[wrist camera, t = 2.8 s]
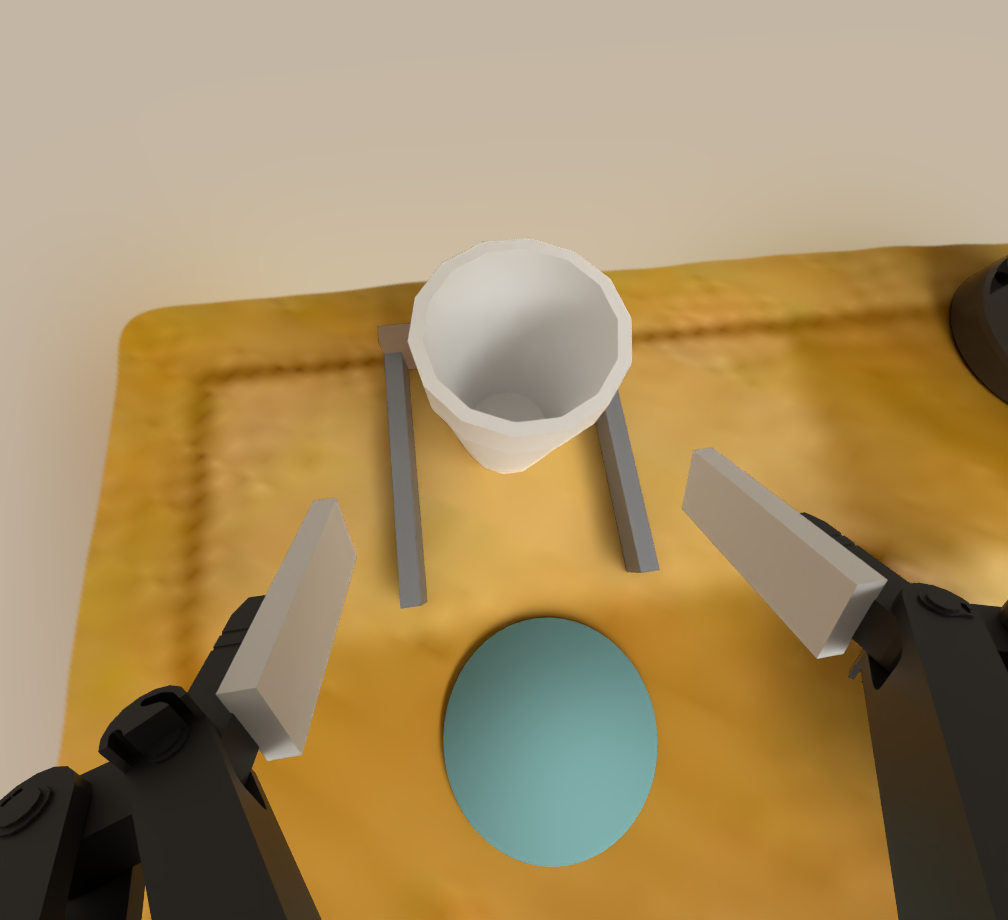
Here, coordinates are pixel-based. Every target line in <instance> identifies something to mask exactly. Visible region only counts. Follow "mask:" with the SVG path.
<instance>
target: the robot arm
mask: <svg viewBox="0 0 1008 920" xmlns="http://www.w3.org/2000/svg"><path fill="white" fill-rule="evenodd" d="M951 326H952V331H953V335H954V338H955V341H956V344H957V346H958V348H959V350H960V352H961V354H962V356H963V358H964V359H965V361H966V363H967V364H968V365H969V367H970V368H971V370H972V371H973V372H974V373H975V375H976V376H977V377H978V378H979V379H980V380H981V381H982V382H983V383H984V384H985V385H986V386H987V387H988V388H989V389H990V390H991V391H992V392H994V393H995V394H996V395H997V396H998V397H1000V398H1001V399H1002V400H1004V401H1005V402H1007V403H1008V256H1006V257H1004V258H1002V259H1000V260H998V261H996V262H995V263H993V264H991V265H990V266H988V267H986V268H984V269H983V270H981V271H979V272H978V273H976V274H974V275H973V276H971V277H970V278H968V279H967V280H966V281H965V282H964V283H963V284H962V285H961V286H960V287H959V289H958V290H957V292H956V294H955V296H954V299H953V302H952V306H951ZM682 510H683V511H684V512H685V513H686V514H687V515H688V516H689V517H690V519H691V520H692V521H693V522H694V523H695V524H696V525H697V526H698V527H699V529H700V530H701V531H702V532H703V533H704V534H705V535H706V536H707V537H708V539H709V540H710V541H711V542H712V543H713V544H714V545H715V546H716V547H717V549H718V550H719V551H720V552H721V553H722V554H723V555H724V556H725V557H726V559H727V560H728V561H729V562H730V563H731V564H732V565H733V566H734V567H735V569H736V570H737V571H738V572H739V573H740V574H741V575H742V576H743V577H744V579H745V580H746V581H747V582H748V583H749V584H750V585H751V586H752V587H753V589H754V590H755V591H756V592H757V593H758V594H759V595H760V596H761V597H762V599H763V600H764V601H765V602H766V603H767V604H768V605H769V606H770V607H771V609H772V610H773V611H774V612H775V613H776V614H777V615H778V616H779V617H780V619H781V620H782V621H783V622H784V623H785V624H786V625H787V626H788V627H789V629H790V630H791V631H792V632H793V633H794V634H795V635H796V636H797V637H798V639H799V640H800V641H801V642H802V643H803V644H804V645H805V646H806V647H807V649H808V650H809V651H810V652H811V653H812V654H813V655H814V656H815V657H816V659H818V658H824V657H829V656H834V655H840V654H844V652H845V650H846V649H847V647H848V645H849V644H850V642H851V640H852V639H854V640H855V641H856V642H857V643H858V644H859V645H860V646H861V647H862V648H863V650H862V652H861V654H860V655H859V657H858V658H857V660H856V661H855V663H854V665H853V666H852V668H851V669H850V671H849V676H848V677H849V678H851V679H854V678H855V677H856V675H857V674H858V672H859V671H861V673H862V683H863V686H864V693H865V700H866V706H867V713H868V719H869V726H870V733H871V739H872V746H873V753H874V759H875V766H876V772H877V779H878V786H879V792H880V799H881V805H882V812H883V819H884V825H885V832H886V839H887V845H888V852H889V858H890V865H891V872H892V878H893V885H894V892H895V898H896V905H897V911H898V918H899V920H1008V600H1007V602H1006V603H1005V604H1004V605H1003V606H1002V607H996V606H986V605H977V604H969V603H968V602H967V601H965V600H964V599H963V598H961V597H959V596H957V595H955V594H953V593H951V592H949V591H947V590H945V589H942V588H939V587H936V586H933V585H928V584H923V583H909V582H907V581H906V580H904V579H903V578H902V577H900V576H899V575H898V574H896V573H895V572H893V571H892V570H891V569H889V568H888V567H887V566H885V565H884V564H883V563H881V562H880V561H878V560H877V559H876V558H874V557H873V556H872V555H870V554H869V553H867V552H866V551H865V550H863V549H862V548H861V547H859V546H855V544H854V542H852V541H851V540H850V539H848V538H847V537H845V536H842V535H841V533H840V532H839V531H837V530H836V529H834V528H833V527H832V526H830V525H829V524H828V523H826V522H825V521H822V520H820V519H818V518H816V517H814V516H812V515H809V514H807V513H805V512H804V513H798V512H797V511H796V510H795V509H793V508H792V507H791V506H789V505H788V504H787V503H785V502H784V501H783V500H781V499H780V498H779V497H777V496H776V495H775V494H773V493H772V492H771V491H769V490H768V489H767V488H765V487H764V486H763V485H761V484H760V483H759V482H757V481H756V480H755V479H754V478H752V477H751V476H750V475H748V474H747V473H746V472H744V471H743V470H742V469H740V468H739V467H738V466H736V465H735V464H734V463H732V462H731V461H730V460H728V459H727V458H726V457H724V456H723V455H722V454H720V453H719V452H718V451H716V450H715V449H714V448H705V449H698V450H693V455H692V460H691V465H690V470H689V475H688V480H687V485H686V490H685V495H684V500H683V505H682ZM356 558H357V555H356V552H355V549H354V546H353V543H352V540H351V538H350V535H349V532H348V529H347V526H346V523H345V521H344V518H343V515H342V512H341V509H340V506H339V503H338V501H337V498H330V499H322V500H315V501H313V503H312V505H311V507H310V509H309V511H308V513H307V515H306V517H305V519H304V521H303V523H302V525H301V527H300V529H299V531H298V533H297V535H296V537H295V539H294V541H293V543H292V545H291V547H290V549H289V551H288V553H287V555H286V557H285V559H284V561H283V562H282V564H281V566H280V568H279V570H278V572H277V574H276V576H275V578H274V580H273V582H272V584H271V586H270V588H269V590H268V592H267V594H266V595H263V596H256V597H250V598H248V599H247V600H246V601H245V602H244V603H243V604H242V605H241V606H240V607H239V608H238V609H237V610H236V611H235V612H234V613H233V614H232V615H231V617H230V619H229V621H228V622H227V624H226V626H225V628H224V629H223V631H222V635H221V636H219V638H218V640H217V642H216V643H215V645H214V650H213V651H211V652H210V654H209V656H208V657H207V659H206V661H205V663H204V664H203V666H202V668H201V670H200V671H199V673H198V675H197V677H196V678H195V680H194V682H193V684H192V685H191V687H190V689H189V691H188V692H186V691H185V690H184V689H183V688H182V687H180V686H171V685H169V686H166V687H162V688H158V689H155V690H153V691H151V692H149V693H147V694H145V695H143V696H141V697H139V698H138V699H137V700H135V701H134V702H133V703H131V704H130V705H129V706H127V707H126V708H125V709H123V710H122V711H121V712H120V714H119V715H118V716H117V717H116V718H115V719H114V720H113V721H112V722H111V723H110V724H109V726H108V728H107V729H106V731H105V733H104V734H103V736H102V738H101V740H100V745H99V751H98V752H99V753H100V754H101V755H102V756H104V757H105V758H106V759H107V760H108V761H110V762H108V763H106V764H103V765H101V766H99V767H97V768H95V769H92V770H90V771H88V772H86V773H84V774H82V775H79V774H77V773H76V772H75V771H73V770H72V769H70V768H69V767H68V766H61V767H53V768H50V769H48V770H45V771H42V772H40V773H37V774H36V775H34V776H32V777H31V778H29V779H28V780H26V781H24V782H23V783H21V784H20V785H18V786H16V787H15V788H14V789H13V790H12V791H11V792H9V793H8V794H7V795H6V796H5V797H3V799H1V800H0V920H141V919H142V910H143V900H144V891H145V886H146V891H147V897H148V902H149V907H150V913H151V918H152V920H321V917H320V915H319V913H318V911H317V909H316V906H315V904H314V902H313V900H312V897H311V895H310V893H309V891H308V889H307V886H306V884H305V882H304V880H303V877H302V875H301V873H300V871H299V869H298V866H297V864H296V862H295V860H294V857H293V855H292V853H291V851H290V849H289V846H288V844H287V842H286V840H285V837H284V835H283V833H282V831H281V829H280V826H279V824H278V822H277V820H276V817H275V815H274V813H273V811H272V809H271V806H270V804H269V802H268V800H267V797H266V795H265V793H264V791H263V789H262V786H261V784H260V782H259V780H258V777H257V775H256V773H255V772H254V771H253V770H252V766H253V763H254V760H255V758H256V755H257V752H258V750H260V751H261V753H262V754H263V755H264V756H265V758H266V759H267V760H268V761H270V760H276V759H281V758H287V757H292V756H297V755H302V753H303V749H304V746H305V742H306V739H307V735H308V731H309V728H310V724H311V721H312V717H313V713H314V710H315V706H316V703H317V699H318V695H319V692H320V688H321V684H322V681H323V677H324V674H325V670H326V666H327V663H328V659H329V656H330V652H331V648H332V645H333V641H334V638H335V634H336V630H337V627H338V623H339V620H340V616H341V612H342V609H343V605H344V601H345V598H346V594H347V591H348V587H349V583H350V580H351V576H352V573H353V569H354V565H355V562H356Z"/></svg>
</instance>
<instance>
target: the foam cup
mask: <svg viewBox="0 0 1008 920" xmlns="http://www.w3.org/2000/svg"><path fill="white" fill-rule="evenodd" d="M408 344H409V347H410V350H411V353H412V355H413V358H414V361H415V364H416V367H417V369H418V372H419V375H420V378H421V381H422V383H423V386H424V389H425V392H426V394H427V397H428V400H429V403H430V405H431V408H432V410H433V411H434V412H436V413H437V414H438V415H439V416H440V417H441V418H442V419H443V420H444V421H445V422H446V423H447V424H448V425H449V426H450V428H451V429H452V430H453V432H454V433H455V435H456V436H457V437H458V439H459V440H460V441H461V443H462V444H463V446H464V447H465V448H466V450H467V451H468V453H469V454H470V455H471V456H472V457H473V458H474V459H475V460H476V461H477V462H479V463H480V464H481V465H482V466H483V467H484V468H486V469H489V470H492V471H495V472H498V473H502V474H507V473H514V472H522V471H524V470H525V469H527V468H528V467H530V466H532V465H533V464H535V463H536V462H538V461H539V460H541V459H542V458H543V457H545V456H546V455H547V454H548V453H550V452H551V451H552V450H554V449H555V448H558V447H559V446H561V445H562V444H564V443H566V442H567V441H569V440H570V439H572V438H573V437H575V436H576V435H578V434H579V433H581V432H582V431H584V430H585V429H587V428H588V427H590V426H592V425H593V424H594V423H595V422H596V421H597V419H598V418H599V417H600V415H601V414H602V413H603V411H604V410H605V409H606V408H607V406H608V405H609V404H610V402H611V400H612V398H613V396H614V395H615V393H616V391H617V389H618V387H619V386H620V384H621V382H622V380H623V378H624V377H625V375H626V373H627V371H628V369H629V367H630V366H631V364H632V318H631V317H630V315H629V313H628V311H627V309H626V307H625V305H624V303H623V301H622V300H621V298H620V296H619V294H618V292H617V290H616V288H615V286H614V285H613V283H612V281H611V279H610V278H608V277H607V276H606V275H605V274H603V273H602V272H601V271H599V270H598V269H597V268H595V267H594V266H593V265H592V264H590V263H589V262H588V261H587V260H585V259H584V258H582V257H581V256H580V255H579V254H578V253H576V252H575V251H573V250H569V249H565V248H562V247H559V246H555V245H552V244H549V243H545V242H541V241H538V240H535V239H531V238H522V239H510V240H498V241H486V242H481V243H479V244H478V245H476V246H473V247H471V248H470V249H468V250H466V251H464V252H462V253H460V254H458V255H456V256H454V257H452V258H450V259H448V260H446V261H444V262H442V263H441V265H440V266H439V267H438V269H437V270H436V271H435V272H434V274H433V275H432V276H431V277H430V279H429V280H428V281H427V283H426V284H425V285H424V286H423V288H422V289H421V290H420V292H419V293H418V294H417V295H416V297H415V300H414V306H413V312H412V318H411V324H410V330H409V336H408Z"/></svg>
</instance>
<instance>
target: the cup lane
mask: <svg viewBox="0 0 1008 920" xmlns="http://www.w3.org/2000/svg"><path fill="white" fill-rule="evenodd" d="M410 324H411V323H406V324H395V325H384V326H377V327H378V342H379V344H380V346H381V348H382V350H383V352H384V359H385V374H386V390H387V405H388V421H389V436H390V451H391V467H392V482H393V498H394V513H395V529H396V544H397V560H398V575H399V591H400V606H401V609H402V608H409V607H415V606H421V605H423V604H424V603H426V602H427V592H426V579H425V567H424V555H423V543H422V530H421V518H420V506H419V494H418V481H417V469H416V457H415V445H414V432H413V420H412V408H411V396H410V383H409V371H408V369H416V368H417V367H416V364H415V361H414V358H413V355H412V353H411V350H410V347H409V344H408V336H409V330H410ZM596 427H597V432H598V437H599V441H600V446H601V451H602V456H603V460H604V465H605V470H606V475H607V479H608V484H609V489H610V494H611V498H612V503H613V508H614V513H615V517H616V522H617V527H618V532H619V536H620V541H621V546H622V551H623V555H624V560H625V565H626V569H627V572H635V573H644V572H650V571H657V570H660V569H659V565H658V561H657V556H656V552H655V548H654V543H653V539H652V535H651V530H650V526H649V522H648V517H647V513H646V509H645V505H644V500H643V496H642V492H641V487H640V483H639V479H638V474H637V470H636V466H635V461H634V457H633V453H632V448H631V444H630V440H629V435H628V431H627V427H626V423H625V418H624V414H623V410H622V405H621V401H620V397H619V392H618V389H617V391H616V393H615V395H614V396H613V398H612V400H611V402H610V404H609V405H608V406H607V408H606V409H605V410H604V411H603V413H602V414H601V415H600V417H599V418H598V419H597V421H596Z"/></svg>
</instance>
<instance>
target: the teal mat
mask: <svg viewBox="0 0 1008 920" xmlns="http://www.w3.org/2000/svg"><path fill="white" fill-rule="evenodd" d="M443 743H444V758H445V765H446V771H447V774H448V778H449V782H450V786H451V788H452V791H453V793H454V796H455V798H456V801H457V802H458V804H459V806H460V808H461V810H462V812H463V813H464V815H465V817H466V818H467V819H468V821H469V822H470V823H471V825H472V826H473V828H474V829H475V830H476V831H477V832H478V833H479V834H480V835H481V836H482V837H483V838H484V839H485V840H486V841H487V842H488V843H490V844H491V845H492V846H494V847H495V848H496V849H497V850H499V851H501V852H503V853H504V854H506V855H508V856H510V857H511V858H514V859H517V860H519V861H522V862H524V863H528V864H533V865H538V866H551V867H558V866H566V865H572V864H576V863H579V862H582V861H586V860H588V859H590V858H592V857H594V856H596V855H598V854H600V853H601V852H603V851H604V850H606V849H607V848H609V847H610V846H612V845H613V844H614V843H615V842H616V841H617V840H618V839H619V838H620V837H622V836H623V835H624V833H625V832H626V831H627V830H628V829H629V827H630V826H631V825H632V824H633V822H634V821H635V819H636V818H637V816H638V814H639V813H640V811H641V810H642V807H643V805H644V803H645V801H646V799H647V796H648V794H649V791H650V788H651V785H652V782H653V778H654V773H655V768H656V761H657V748H658V745H657V728H656V721H655V715H654V711H653V707H652V703H651V700H650V697H649V695H648V692H647V689H646V687H645V685H644V683H643V681H642V679H641V677H640V675H639V673H638V671H637V670H636V669H635V667H634V666H633V664H632V663H631V661H630V660H629V659H628V658H627V656H626V655H625V654H624V653H623V652H622V651H621V650H620V649H619V648H618V647H617V646H616V645H615V644H614V643H613V642H612V641H610V640H609V639H608V638H606V637H605V636H603V635H602V634H601V633H599V632H598V631H596V630H594V629H592V628H590V627H588V626H586V625H584V624H581V623H578V622H575V621H572V620H567V619H562V618H552V617H543V618H533V619H528V620H524V621H520V622H518V623H515V624H512V625H510V626H508V627H506V628H504V629H502V630H500V631H499V632H497V633H496V634H494V635H493V636H492V637H490V638H489V639H487V640H486V641H485V642H484V643H483V644H482V645H481V646H480V647H479V648H478V649H477V650H476V651H475V652H474V654H473V655H472V656H471V657H470V658H469V660H468V661H467V663H466V664H465V666H464V667H463V669H462V671H461V672H460V674H459V676H458V678H457V680H456V683H455V685H454V687H453V690H452V693H451V696H450V699H449V702H448V706H447V711H446V716H445V723H444V734H443Z"/></svg>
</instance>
